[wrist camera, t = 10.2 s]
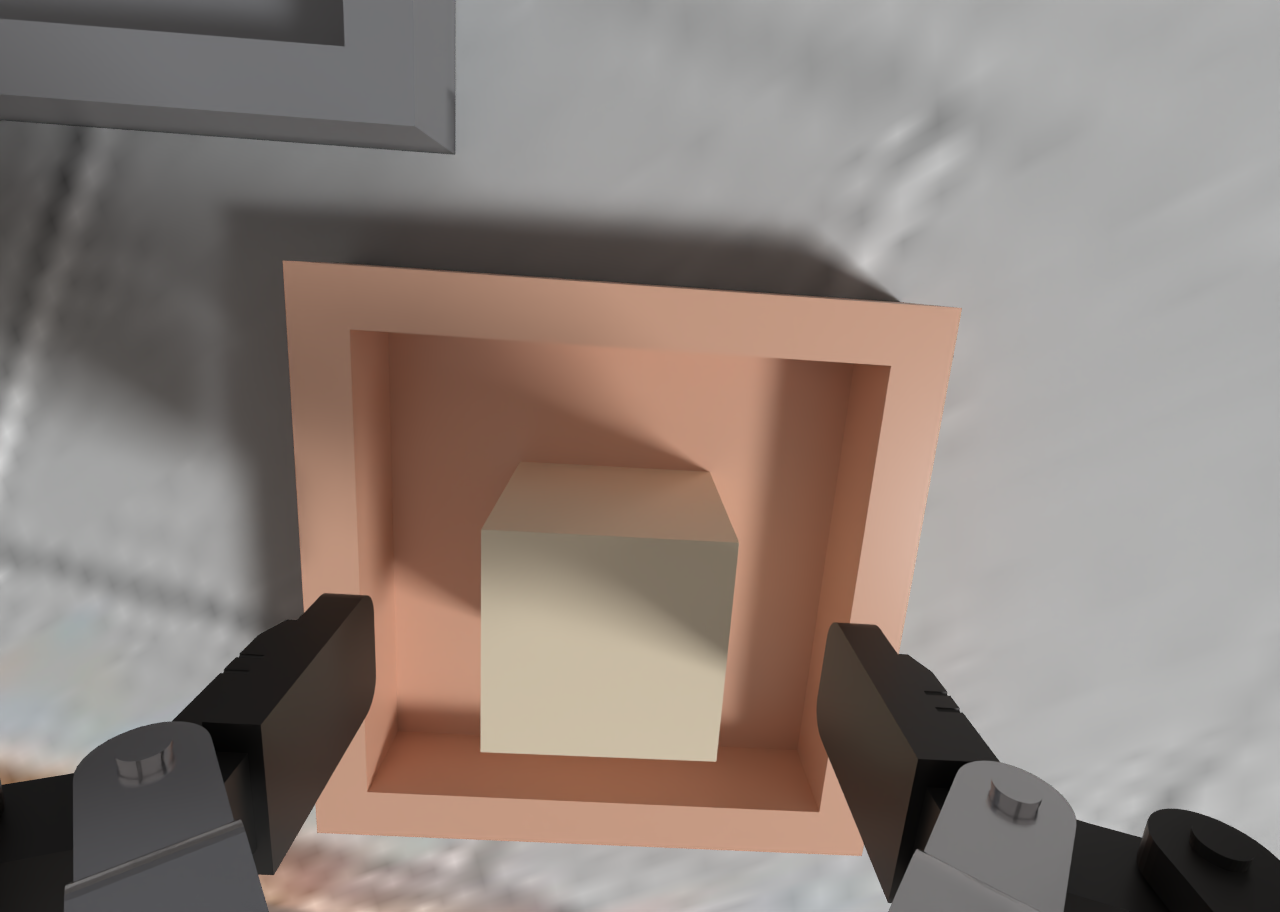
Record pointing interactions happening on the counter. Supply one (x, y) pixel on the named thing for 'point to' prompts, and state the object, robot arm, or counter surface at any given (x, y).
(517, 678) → the beige cube
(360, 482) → the bin
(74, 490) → the counter surface
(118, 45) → the bin
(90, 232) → the counter surface
